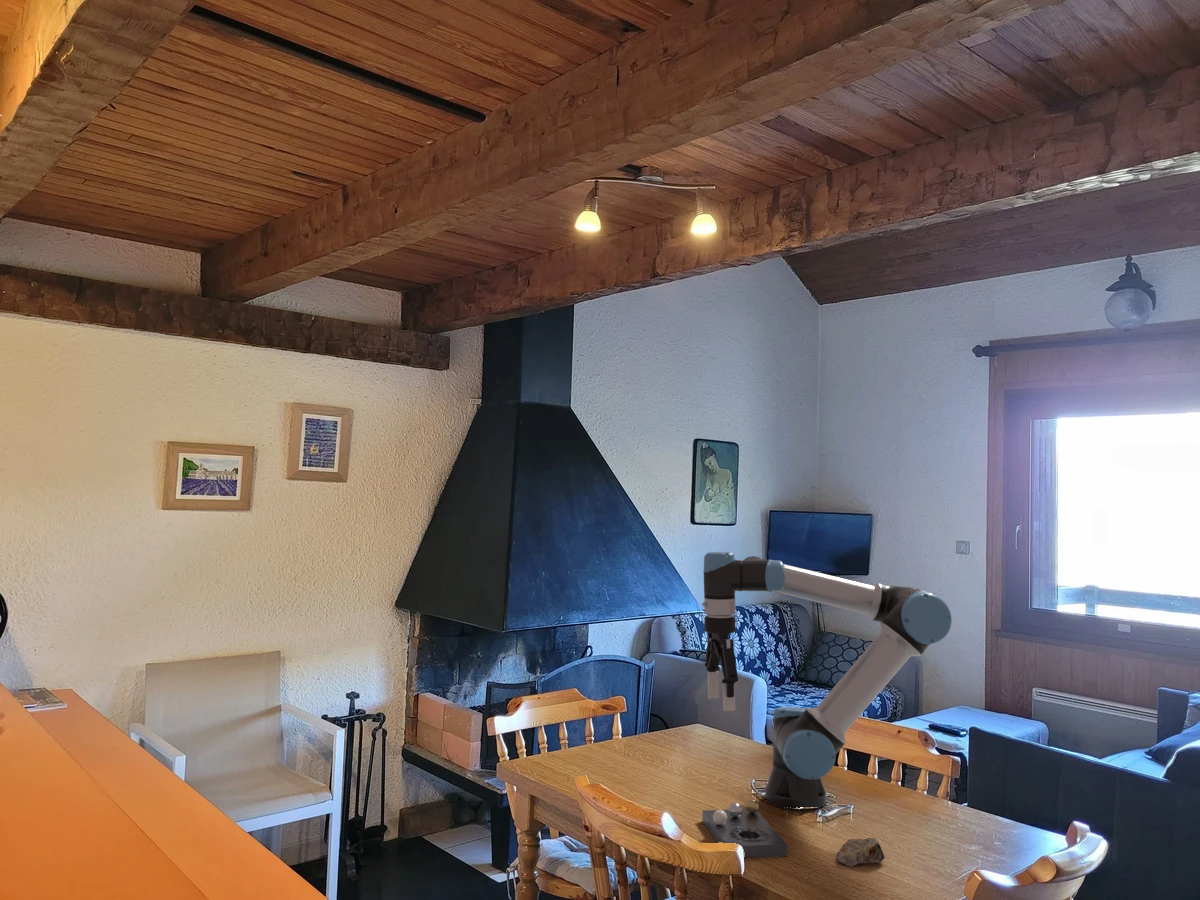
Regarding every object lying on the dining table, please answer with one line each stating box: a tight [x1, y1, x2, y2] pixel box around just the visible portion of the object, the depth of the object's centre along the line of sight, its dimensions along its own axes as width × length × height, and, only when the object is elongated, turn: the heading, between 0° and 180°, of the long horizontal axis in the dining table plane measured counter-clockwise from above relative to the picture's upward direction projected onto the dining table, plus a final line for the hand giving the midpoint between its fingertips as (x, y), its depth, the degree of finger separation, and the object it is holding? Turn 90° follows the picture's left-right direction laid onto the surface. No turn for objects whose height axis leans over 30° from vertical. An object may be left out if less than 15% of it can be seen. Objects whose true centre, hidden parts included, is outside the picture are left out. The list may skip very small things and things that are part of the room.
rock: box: [835, 837, 886, 868], centre depth 187 cm, size 9×6×10 cm
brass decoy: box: [744, 798, 760, 813], centre depth 208 cm, size 3×3×3 cm
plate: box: [701, 808, 788, 859], centre depth 198 cm, size 22×13×2 cm, turn 7°
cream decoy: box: [713, 809, 727, 825], centre depth 200 cm, size 3×3×3 cm
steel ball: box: [727, 802, 743, 818], centre depth 205 cm, size 3×3×3 cm
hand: (721, 704), depth 214 cm, fingers open, 13 cm apart
